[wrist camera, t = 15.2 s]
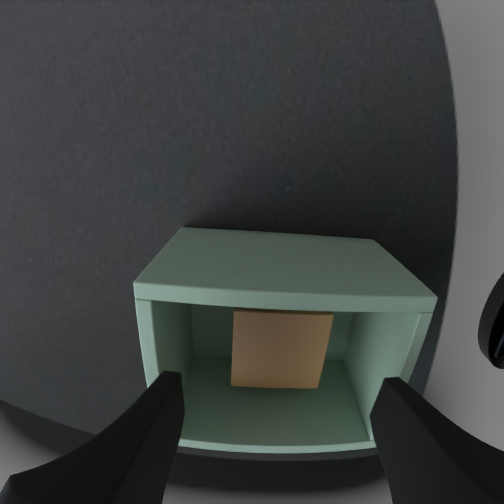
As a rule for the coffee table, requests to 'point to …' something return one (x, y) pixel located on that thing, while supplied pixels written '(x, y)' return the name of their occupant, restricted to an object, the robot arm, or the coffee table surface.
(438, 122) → the coffee table surface
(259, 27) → the coffee table surface
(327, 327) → the block
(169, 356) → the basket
